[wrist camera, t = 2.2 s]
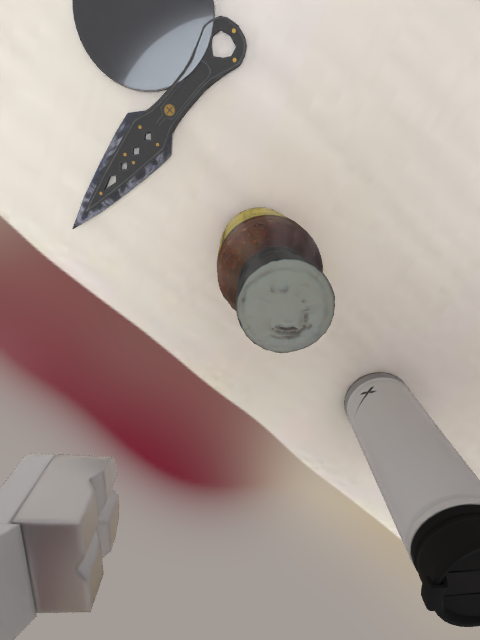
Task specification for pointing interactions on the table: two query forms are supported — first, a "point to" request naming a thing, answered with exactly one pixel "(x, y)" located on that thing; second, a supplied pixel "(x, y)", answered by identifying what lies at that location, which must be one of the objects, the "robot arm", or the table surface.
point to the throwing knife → (156, 126)
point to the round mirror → (144, 38)
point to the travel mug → (422, 493)
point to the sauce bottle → (274, 280)
